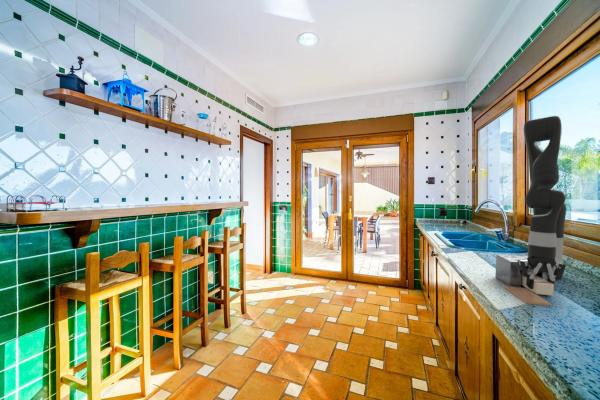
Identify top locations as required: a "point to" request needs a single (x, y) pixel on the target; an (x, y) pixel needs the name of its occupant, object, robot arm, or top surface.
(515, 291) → the tile
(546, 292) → the cream box
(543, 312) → the top surface
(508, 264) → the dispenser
